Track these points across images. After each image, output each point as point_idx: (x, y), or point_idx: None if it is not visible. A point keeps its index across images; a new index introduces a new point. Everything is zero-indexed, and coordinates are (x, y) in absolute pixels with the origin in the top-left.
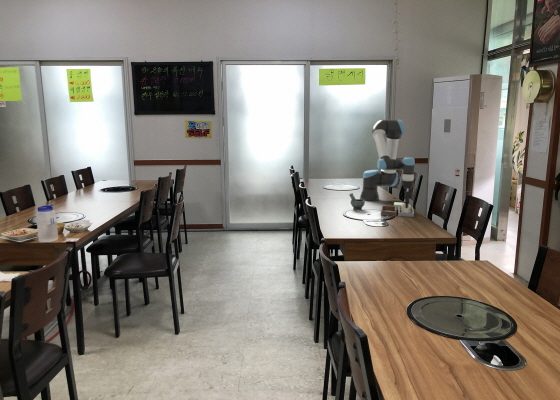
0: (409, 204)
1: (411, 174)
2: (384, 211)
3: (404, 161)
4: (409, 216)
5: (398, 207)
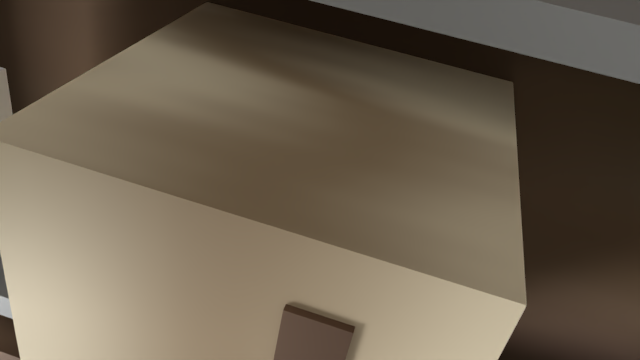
0: (15, 199)
1: None
2: None
3: None
4: None
5: (3, 313)
